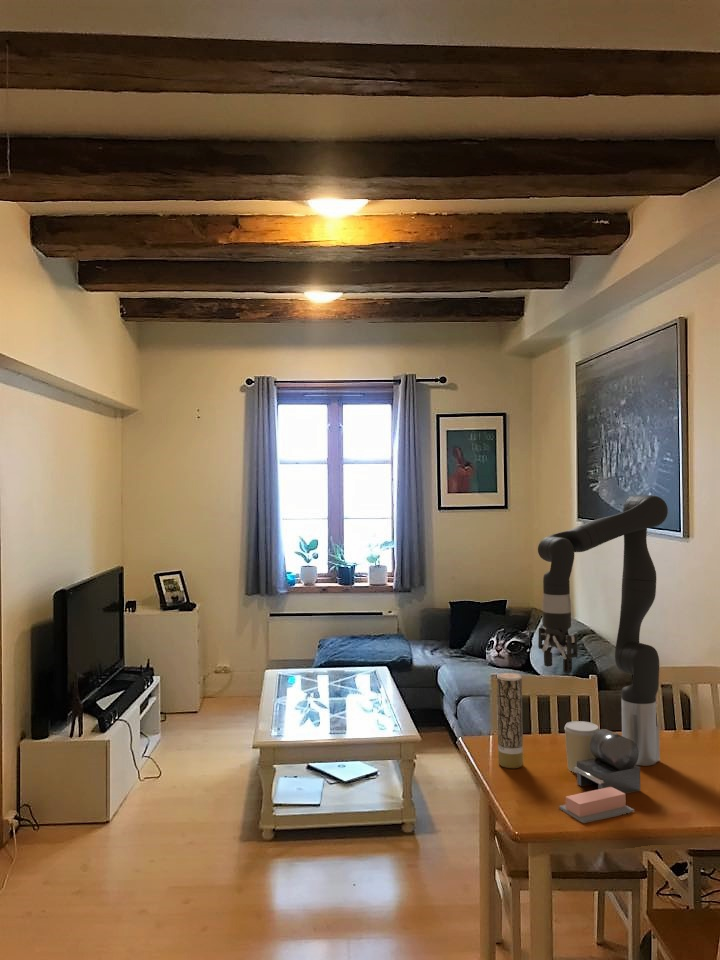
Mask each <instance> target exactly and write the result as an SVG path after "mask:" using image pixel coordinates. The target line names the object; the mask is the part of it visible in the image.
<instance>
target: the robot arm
mask: <svg viewBox="0 0 720 960" xmlns="http://www.w3.org/2000/svg"><path fill="white" fill-rule="evenodd" d="M622 509H623V510H622V512H619V513H616V514H612V515H609V516H605V517H601V518H595V519H594V520H590V521H588V522H586V523H583V524H581V525H578V526H576V527H574V528H572V529H568V530H564V531H560V532H557V533H554V534H553V533H552V534H550V535H547V536H546V537H544V538H543V539H541V540H540V542H539V543H538V546H537V553H538V555H539V557H540V558H541V559H542V560H544V561H545V562H548V563H550V568H549V571H547V572H545V573H544V574H543V577H542V578H543V580H542V583H543V584H542V585H543V586H542V588H543V589H542V590H543V591H542V592H543V593H542V596H543V597H542V626H543V627H539V628H538V641H537V642H538V643H537V644H538V645H537V646H538V647H537V648H538V649H539V650H542V651H541V652H542V653H543V663H544V664H543V665H544V667H547V668H548V667H552V666H553V652H552V651H553V650H554V648H556V649H557V651H559V653H561V656H562V662H563V663H562V664H563V665H562V666H563V667H562V670H563V671H562V672H563V673H564V674H571V673H572V671H573V659H575V658H578V656H579V655H578V639H577V638H578V637H577V635H576V634H570V633H569V629H570V628H572V603H571V602H572V600H571V594H570V592H571V591H570V588H571V587H570V585H571V584H570V579H571V575H572V572H573V571H572V570H573V564H574V560H575V553H584V552H587V551H589V550H591V549H593V548H595V547H599V546H601V545H602V544H603V545H604V544H605V543H607V542H609V541H612V540H614V539H617V538H620V537H622V536H623V564H622V565H623V566H622V567H623V568H622V578H621V598H620V599H621V602H620V613H619V622H618V623H619V624H618V630H617V636H616V642H615V648H614V649H615V650H614V661H615V665H616V667H617V668H618V670H620V671H621V672H623V673H625V674H629V675H632V682H631V683H632V684H631V685H626V686H624V687H622V689H621V693H620V694H621V698H620V702H621V736H623V737H625V738H628V739H630V740H632V741H634V742H635V743H636V745H637V747H638V750H639V757H638V760H637V763H636V766H644V767H645V766H646V767H647V766H653V765H656V764H657V763H658V762H660V727H659V726H657V694H658V691H659V684H660V681H659V679H660V657H659V654H658V651H657V650H656V648H655V647H654V646H652V645H650V644H645V643H642V642H640V633H641V626H642V622H643V621H644V619H645V617H646V615H647V614H648V612H649V611H650V609H651V607H652V606H653V604H654V601H655V599H656V596H657V595H656V594H657V572H656V571H657V570H656V568H655V567H656V566H655V565H654V562H653V560H652V558H651V555H650V552H649V548H648V543H647V537H648V535H647V533H648V529H651V528H655V527H658V526H660V525H662V524H663V523H664V522H665V520H666V519H667V516H668V514H669V513H668V511H669V509H668V505H667V503H666V501H665V500H664V499H663V498H662V497H659V496H657V495H652V494H648V495H647V494H637V495H636V494H635V495H631V496H629V497H628V498H627V499H626V500H625V502H624V504H623V508H622Z"/></svg>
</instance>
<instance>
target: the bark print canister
mask: <svg viewBox="0 0 720 960" xmlns="http://www.w3.org/2000/svg"><path fill="white" fill-rule="evenodd" d="M496 676H497V677H496V678H497V679H496V683H497V685H496V687H497V691H496V692H497V693H496V694H497V698H496V699H497V701H496V702H497V751H498V755H497V756H498V757H497V759H498V764H499V765H500V766H501V767H503V768H504V769H505V768H506V769H518V768H521V767H523V765H524V758H523V757H524V747H523V746H524V743H523V739H524V737H523V735H524V734H523V733H524V732H523V731H524V730H523V680H522V679H523V677H522V675H521V674H519V673H515V672H503V673H498V674H497V675H496Z"/></svg>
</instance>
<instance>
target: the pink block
mask: <svg viewBox="0 0 720 960" xmlns="http://www.w3.org/2000/svg"><path fill="white" fill-rule="evenodd" d="M626 795H627V794H625V793H623V792H621V791H619V790H617V789H615V788H613V787H607V788H602V789H598V788H597V789H594V790H588V791H584V792H581V793H576V794H571V795H567V796H565V805H566V809H567V810H568V811H570V812H572V813H573V814H575V815H577V816H579V817H582V816H586V815H591V814H595V813H599V812H603V811H608V810H612V809H616V808H620V807H624V806H626V803H627V802H626V798H627V797H626Z"/></svg>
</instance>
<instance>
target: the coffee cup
mask: <svg viewBox="0 0 720 960" xmlns="http://www.w3.org/2000/svg"><path fill="white" fill-rule="evenodd" d="M598 730H600V728H599V726H598V724H595V723H593V722H590V721H584V720H580V721H579V720H575V721H574V720H573V721H568V722H566V724H565V725H564V735H565V737H564V738H565V750H566V761H567V768H568V771H569V772H571V771H572V772H571V773H573V772H574V773H573V774H577V772H575V771H574V767H577V761H582V760H587V759H593V758H595V757H594V756H593V755H592V753H591V750H590V742H591V739H592V737H593V735H594V734H595V733H596V732H597V731H598Z"/></svg>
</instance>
